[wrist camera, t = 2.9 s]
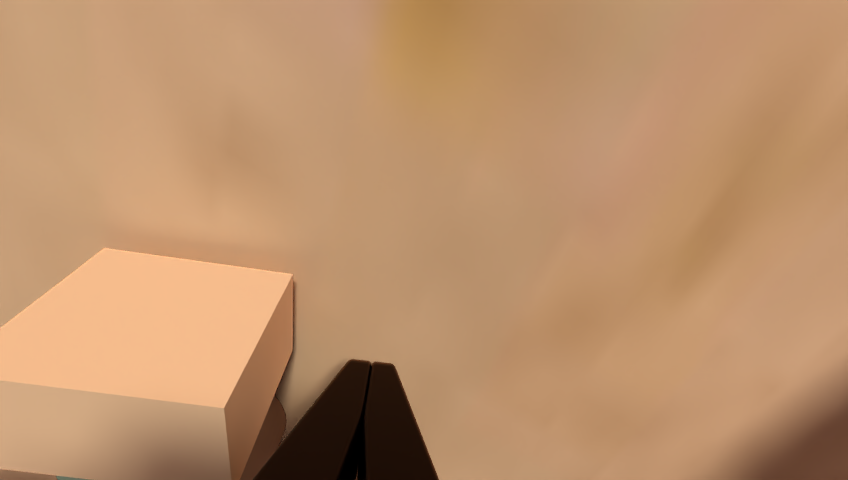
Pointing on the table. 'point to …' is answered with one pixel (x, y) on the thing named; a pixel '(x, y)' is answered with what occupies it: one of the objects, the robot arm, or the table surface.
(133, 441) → the lever
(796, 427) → the table surface
